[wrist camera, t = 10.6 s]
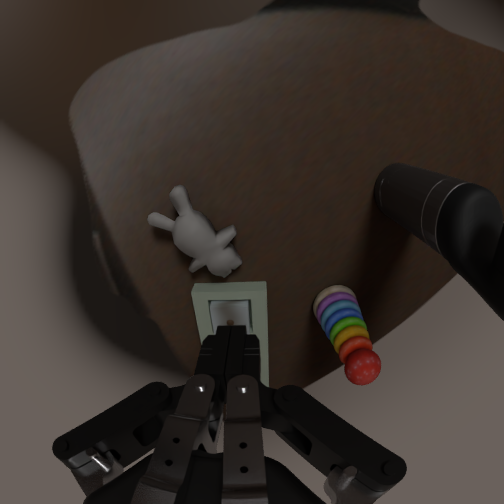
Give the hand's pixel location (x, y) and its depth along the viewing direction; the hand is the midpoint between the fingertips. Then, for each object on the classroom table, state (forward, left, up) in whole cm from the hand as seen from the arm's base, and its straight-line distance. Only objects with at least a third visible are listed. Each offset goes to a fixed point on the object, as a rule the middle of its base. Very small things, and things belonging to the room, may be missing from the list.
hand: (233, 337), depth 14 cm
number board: (+4, +25, -29) cm, 38 cm away
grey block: (+4, +17, -28) cm, 33 cm away
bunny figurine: (+8, +3, -29) cm, 30 cm away
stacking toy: (-14, +17, -29) cm, 36 cm away
